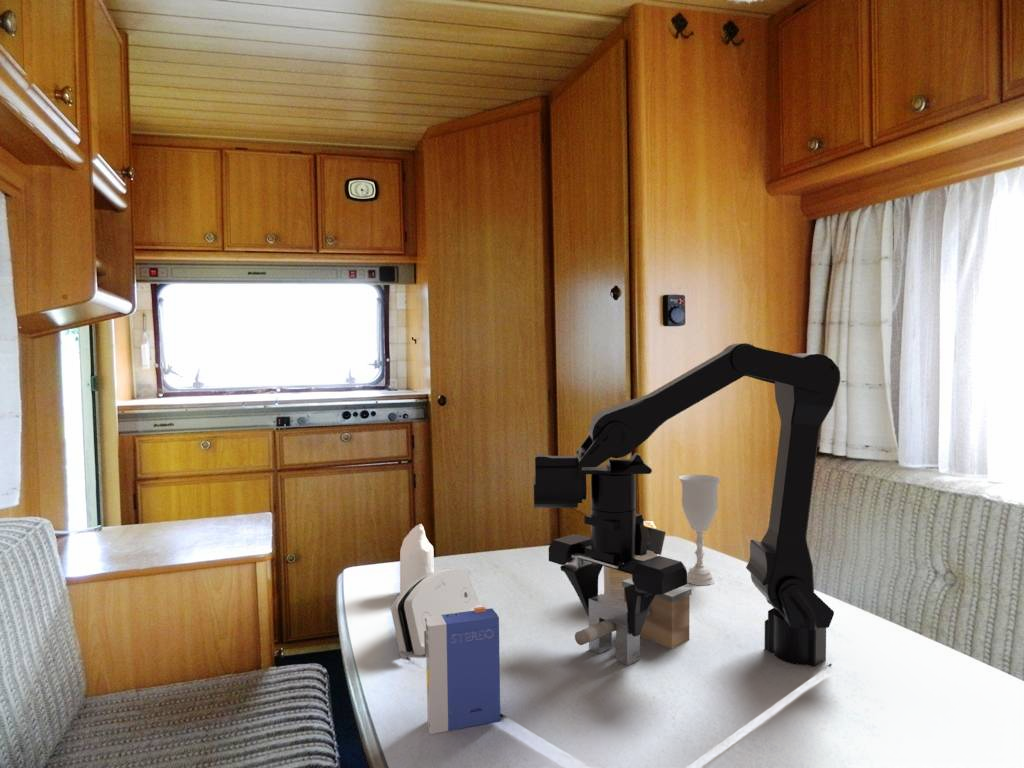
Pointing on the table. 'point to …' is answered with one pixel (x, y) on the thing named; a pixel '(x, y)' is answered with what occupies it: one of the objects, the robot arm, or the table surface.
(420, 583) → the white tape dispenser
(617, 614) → the metal u-shaped block
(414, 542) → the white tall chunk
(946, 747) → the table surface
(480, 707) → the walkman
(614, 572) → the supplement box
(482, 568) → the table surface
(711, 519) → the chalice
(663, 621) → the wooden mallet
